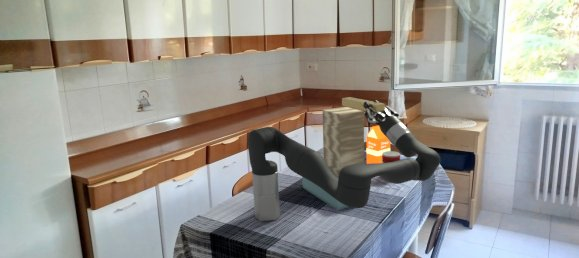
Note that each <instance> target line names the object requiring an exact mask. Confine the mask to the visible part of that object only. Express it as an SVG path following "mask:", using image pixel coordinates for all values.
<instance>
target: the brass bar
mask: <svg viewBox="0 0 579 258" xmlns="http://www.w3.org/2000/svg"><path fill="white" fill-rule="evenodd" d="M365 101H367V102H368V103H369V104H370V105H371V107H372V108H373V109H374V110H378V111H379V112H384V109H385V107H386V103H382V102H380V103H378V102H379V101H378V102H374V100H367V99H362V98H356V97H353V96H352V97H351V96H348V97H341V107H349V108H353V109H357V110H361V111H364V112H366V109H365V108H364V107H363V105H364V102H365Z"/></svg>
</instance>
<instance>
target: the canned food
mask: <svg viewBox="0 0 579 258" xmlns="http://www.w3.org/2000/svg"><path fill="white" fill-rule="evenodd" d="M398 160H401V152H398V151H396V150H395V151H392V150H390V151H386V152H383V153H382V163H388V162H394V161H398Z"/></svg>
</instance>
